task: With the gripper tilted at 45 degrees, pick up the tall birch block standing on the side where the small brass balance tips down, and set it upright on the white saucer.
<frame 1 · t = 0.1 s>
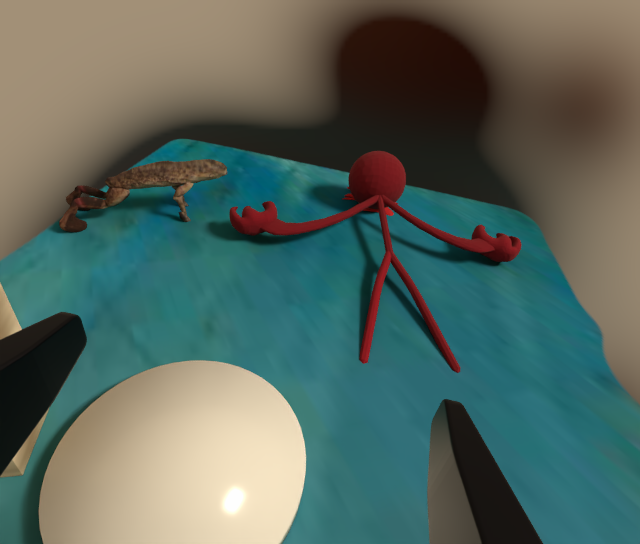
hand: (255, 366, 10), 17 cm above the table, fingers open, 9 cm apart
toy: (375, 261, 44), on the table
saucer: (185, 467, 24), on the table
toy 2: (151, 218, 45), on the table
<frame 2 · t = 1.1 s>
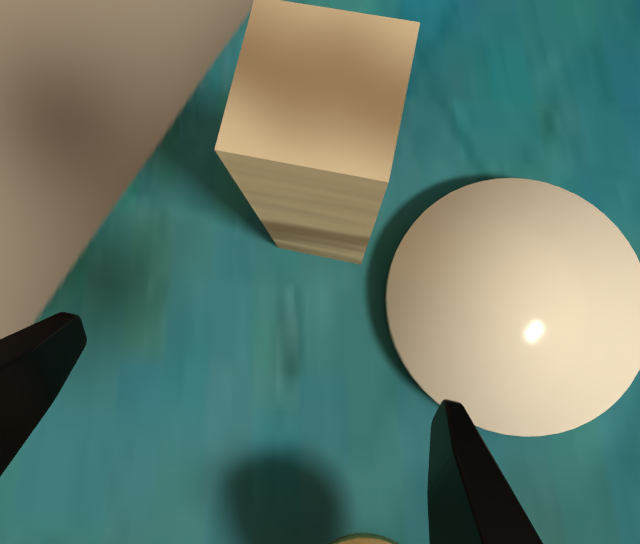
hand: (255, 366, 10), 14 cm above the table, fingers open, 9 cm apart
saucer: (508, 302, 23), on the table
birch block: (327, 215, 25), on the table
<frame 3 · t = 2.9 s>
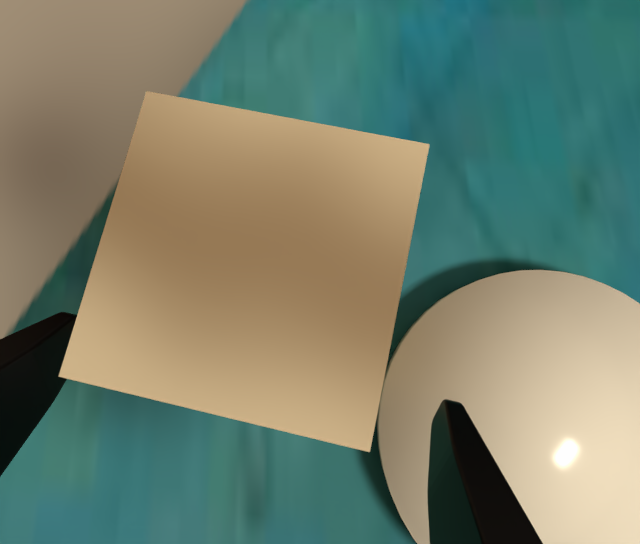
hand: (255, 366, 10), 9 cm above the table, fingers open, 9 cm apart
saucer: (534, 429, 18), on the table
birch block: (305, 309, 19), on the table
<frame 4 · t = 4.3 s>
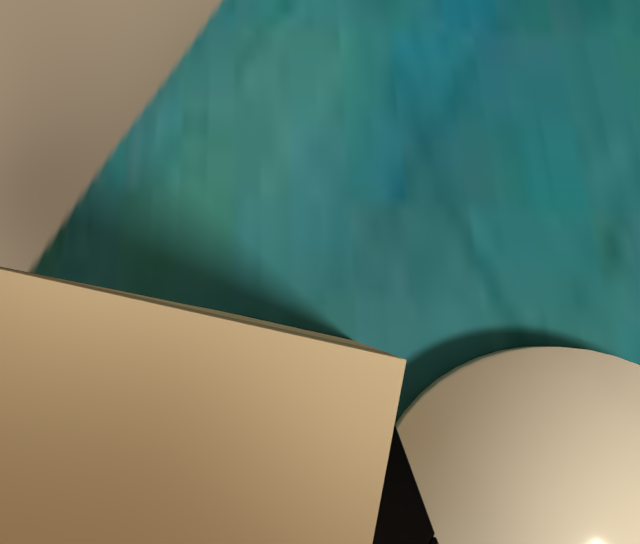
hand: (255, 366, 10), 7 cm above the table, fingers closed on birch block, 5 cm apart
saucer: (554, 539, 15), on the table
birch block: (278, 389, 16), on the table, touching gripper
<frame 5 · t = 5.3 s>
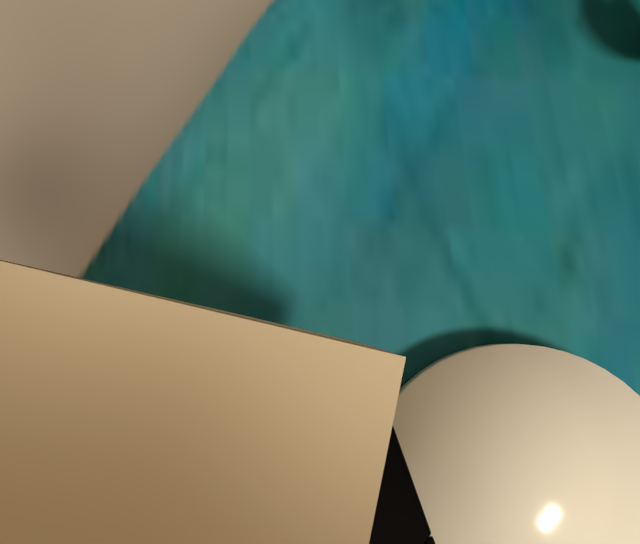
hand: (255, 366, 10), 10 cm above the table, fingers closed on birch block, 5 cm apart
saucer: (515, 501, 18), on the table
birch block: (283, 389, 16), point 3 cm above the table, touching gripper
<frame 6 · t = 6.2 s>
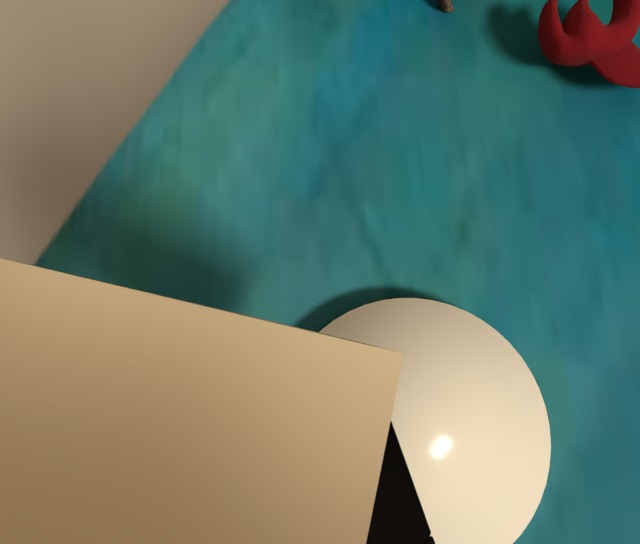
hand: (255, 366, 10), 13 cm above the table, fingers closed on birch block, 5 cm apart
saucer: (406, 428, 22), on the table
birch block: (283, 389, 16), point 7 cm above the table, touching gripper
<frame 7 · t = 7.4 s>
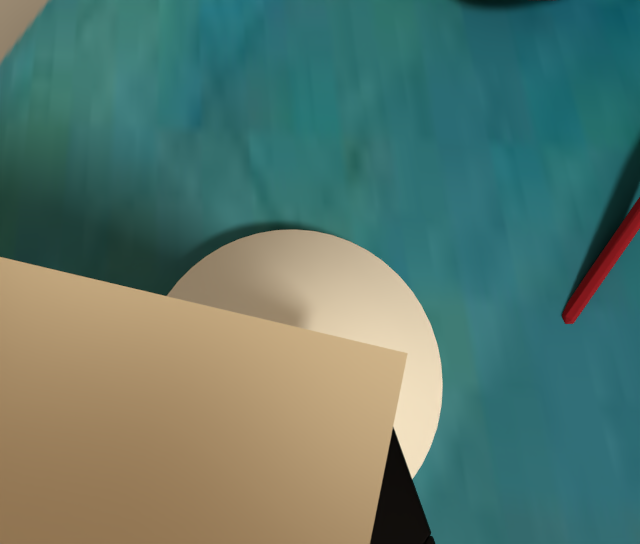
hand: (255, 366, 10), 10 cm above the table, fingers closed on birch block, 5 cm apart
saucer: (291, 375, 20), on the table
birch block: (283, 389, 16), point 4 cm above the table, touching gripper
when the fingers open (9 cm above the table, at t = 8.1 s): birch block drops 1 cm, resting on saucer.
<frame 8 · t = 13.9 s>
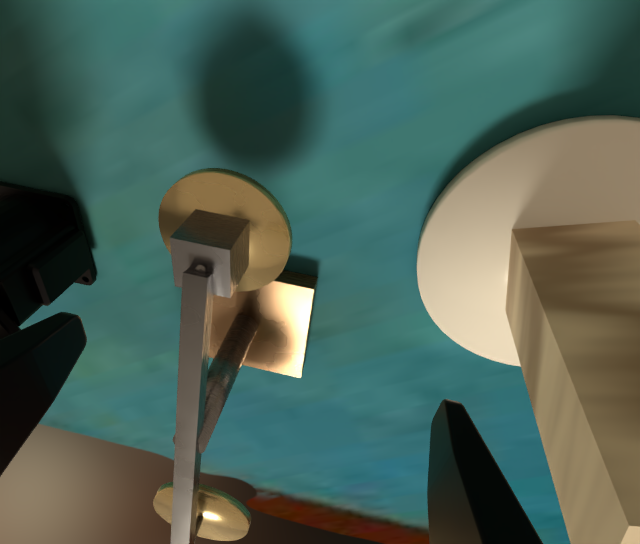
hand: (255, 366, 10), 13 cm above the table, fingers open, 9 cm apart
balance: (251, 312, 27), on the table
saucer: (557, 256, 21), on the table
birch block: (563, 269, 20), point 1 cm above the table, touching saucer
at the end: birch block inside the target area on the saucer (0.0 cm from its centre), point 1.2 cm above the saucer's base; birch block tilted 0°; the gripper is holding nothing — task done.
